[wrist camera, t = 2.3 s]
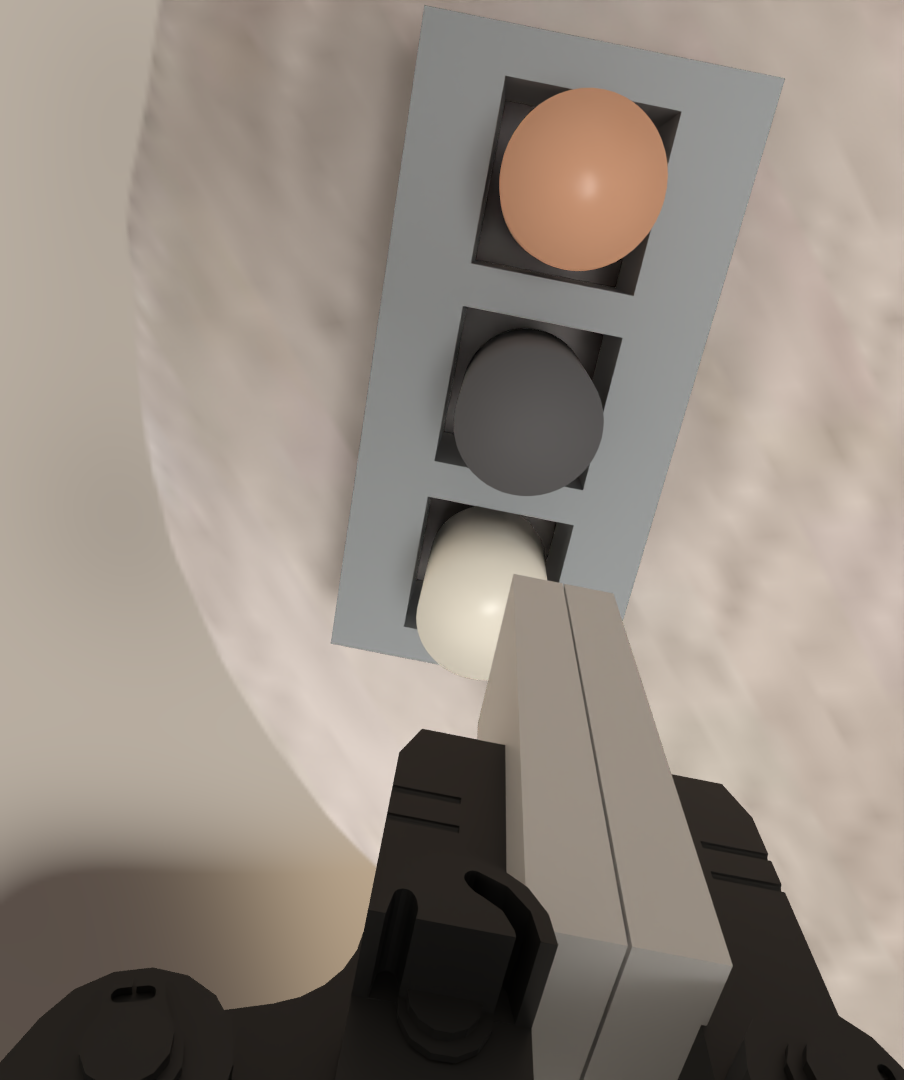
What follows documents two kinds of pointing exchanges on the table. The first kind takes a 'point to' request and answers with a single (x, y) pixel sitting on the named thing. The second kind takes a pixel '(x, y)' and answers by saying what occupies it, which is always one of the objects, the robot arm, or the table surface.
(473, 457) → the button black
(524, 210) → the button terracotta
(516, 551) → the button ivory
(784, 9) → the table surface
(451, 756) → the robot arm
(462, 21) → the panel
